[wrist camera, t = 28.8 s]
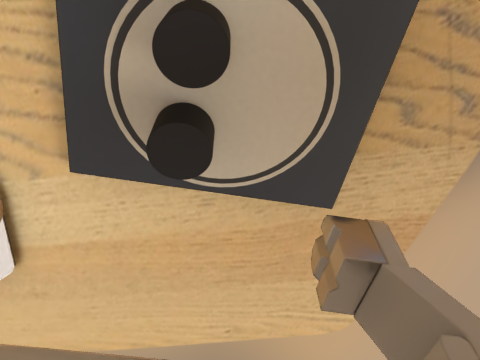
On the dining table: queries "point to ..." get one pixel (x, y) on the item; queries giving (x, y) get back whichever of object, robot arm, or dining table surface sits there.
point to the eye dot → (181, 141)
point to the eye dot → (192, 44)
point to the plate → (5, 252)
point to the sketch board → (233, 91)
